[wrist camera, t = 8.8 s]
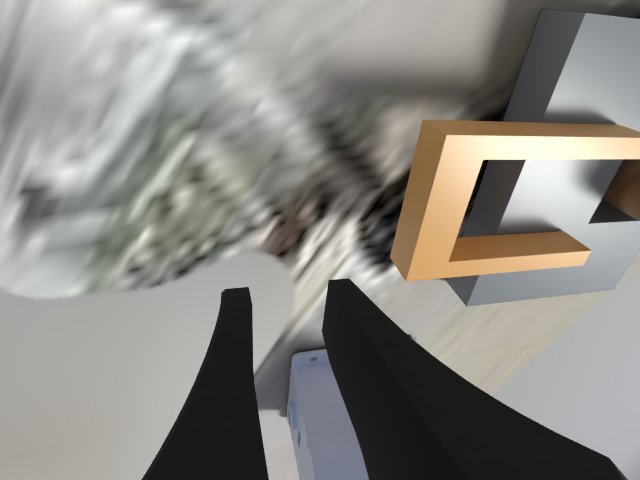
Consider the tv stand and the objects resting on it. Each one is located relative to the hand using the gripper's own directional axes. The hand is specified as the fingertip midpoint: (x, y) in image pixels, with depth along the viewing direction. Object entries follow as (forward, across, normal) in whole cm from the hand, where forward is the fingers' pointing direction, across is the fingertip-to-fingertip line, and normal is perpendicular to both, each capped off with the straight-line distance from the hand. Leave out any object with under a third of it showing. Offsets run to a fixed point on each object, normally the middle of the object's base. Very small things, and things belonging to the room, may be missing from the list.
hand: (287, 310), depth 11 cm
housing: (+9, -19, 0) cm, 21 cm away
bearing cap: (+7, -12, 0) cm, 14 cm away
